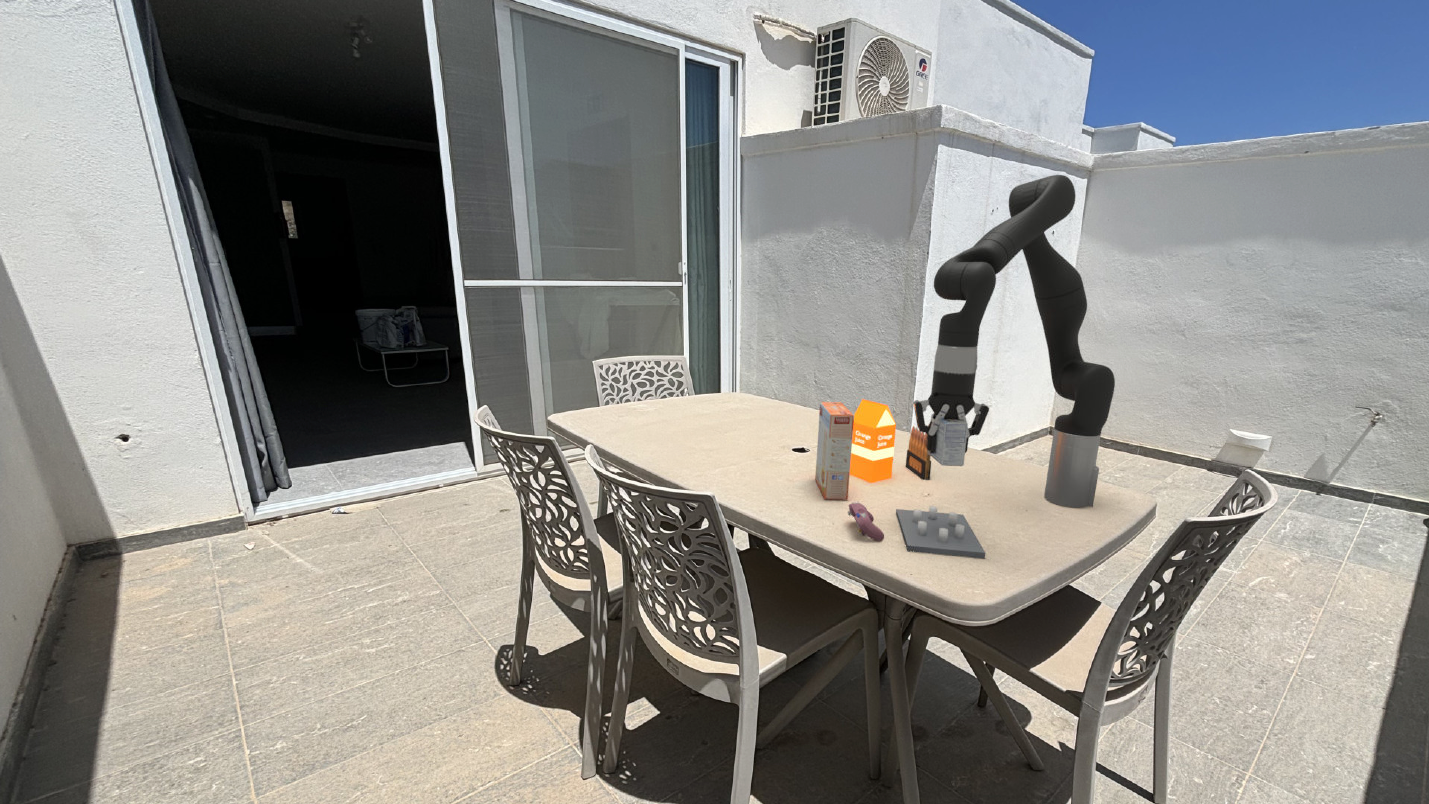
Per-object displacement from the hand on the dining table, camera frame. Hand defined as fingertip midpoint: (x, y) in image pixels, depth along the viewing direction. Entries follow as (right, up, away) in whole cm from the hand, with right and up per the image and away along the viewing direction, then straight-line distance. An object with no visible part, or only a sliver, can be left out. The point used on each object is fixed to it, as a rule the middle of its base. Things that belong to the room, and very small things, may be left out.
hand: (945, 453), depth 113 cm
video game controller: (-15, -17, +5) cm, 23 cm away
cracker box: (-17, -12, +28) cm, 35 cm away
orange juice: (-5, -10, +38) cm, 40 cm away
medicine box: (0, -2, 0) cm, 2 cm away
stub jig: (0, -17, +4) cm, 17 cm away
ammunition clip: (+9, -9, +41) cm, 43 cm away
